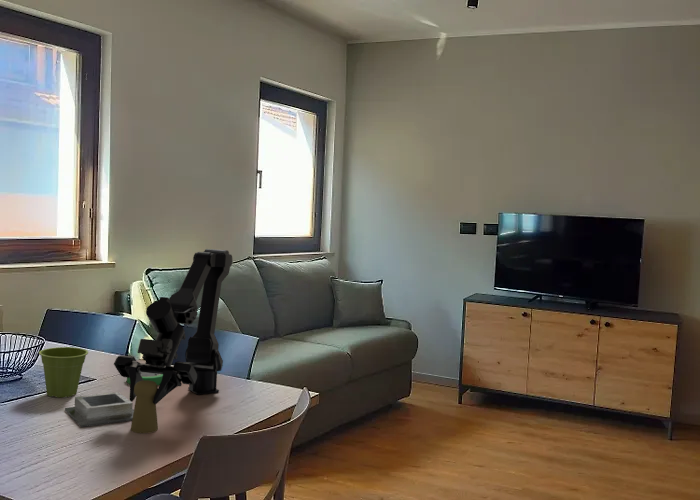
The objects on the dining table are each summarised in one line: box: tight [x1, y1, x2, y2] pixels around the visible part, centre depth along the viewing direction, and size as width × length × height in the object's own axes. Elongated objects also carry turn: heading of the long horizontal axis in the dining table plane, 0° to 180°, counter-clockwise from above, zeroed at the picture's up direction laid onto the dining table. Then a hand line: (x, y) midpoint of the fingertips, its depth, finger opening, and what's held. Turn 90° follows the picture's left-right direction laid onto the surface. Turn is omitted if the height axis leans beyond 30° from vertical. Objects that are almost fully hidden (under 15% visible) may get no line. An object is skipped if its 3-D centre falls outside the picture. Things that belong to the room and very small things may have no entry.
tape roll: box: [126, 372, 163, 386], centre depth 198 cm, size 11×11×3 cm
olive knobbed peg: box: [130, 380, 159, 434], centre depth 158 cm, size 6×6×11 cm
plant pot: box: [38, 346, 89, 399], centre depth 181 cm, size 12×12×11 cm
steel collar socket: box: [64, 391, 134, 428], centre depth 166 cm, size 14×14×4 cm
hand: (142, 402), depth 157 cm, fingers open, 5 cm apart
